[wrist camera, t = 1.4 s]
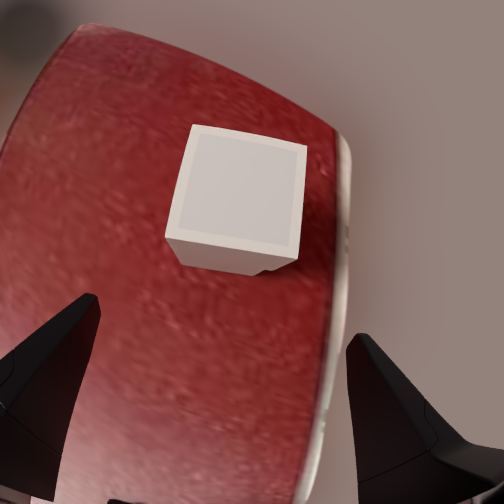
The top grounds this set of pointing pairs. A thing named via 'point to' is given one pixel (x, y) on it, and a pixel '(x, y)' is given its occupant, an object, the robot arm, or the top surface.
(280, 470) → the top surface
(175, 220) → the white notched block
